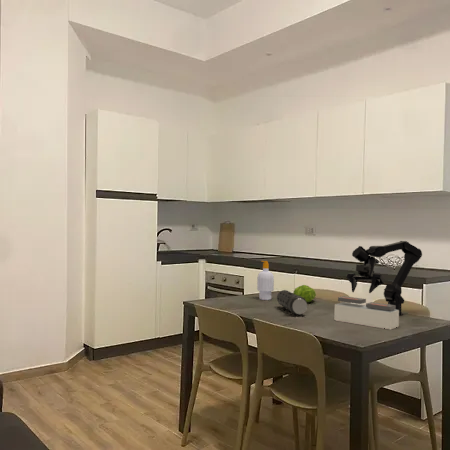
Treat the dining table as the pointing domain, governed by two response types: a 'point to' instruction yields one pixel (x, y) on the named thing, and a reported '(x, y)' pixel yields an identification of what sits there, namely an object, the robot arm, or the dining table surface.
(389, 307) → the key
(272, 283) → the soap bottle
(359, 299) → the key
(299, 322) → the dining table surface
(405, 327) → the dining table surface
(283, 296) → the grey foam roller
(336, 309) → the switch block
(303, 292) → the lettuce
